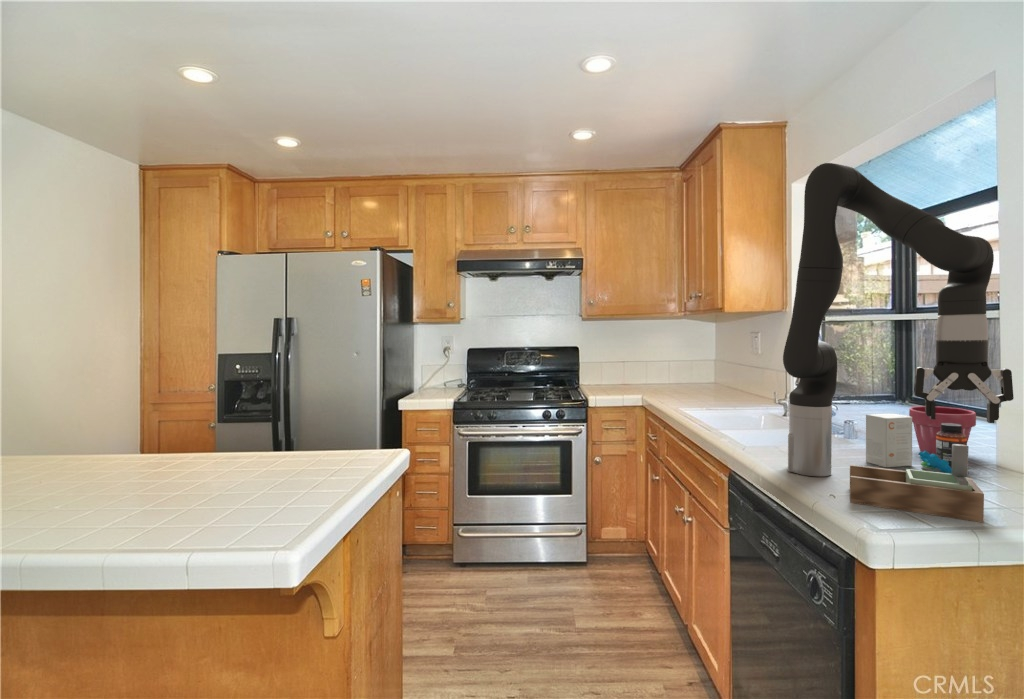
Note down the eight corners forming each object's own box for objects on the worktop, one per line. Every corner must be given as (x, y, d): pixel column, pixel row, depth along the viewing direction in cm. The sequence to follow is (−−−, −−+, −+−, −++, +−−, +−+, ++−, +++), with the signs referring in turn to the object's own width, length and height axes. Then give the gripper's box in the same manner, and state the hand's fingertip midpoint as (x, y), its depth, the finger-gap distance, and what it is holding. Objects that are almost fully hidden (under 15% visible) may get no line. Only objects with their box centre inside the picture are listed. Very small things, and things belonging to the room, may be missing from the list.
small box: (890, 459, 135) (891, 412, 134) (912, 466, 128) (913, 416, 128) (864, 461, 133) (865, 414, 133) (885, 468, 127) (886, 418, 127)
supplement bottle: (963, 466, 127) (964, 423, 127) (969, 472, 122) (970, 427, 122) (933, 463, 130) (934, 421, 130) (938, 469, 125) (938, 425, 125)
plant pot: (934, 461, 133) (935, 414, 132) (896, 448, 147) (897, 406, 146) (990, 461, 132) (991, 413, 132) (946, 448, 146) (947, 405, 146)
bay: (850, 502, 103) (850, 476, 103) (849, 488, 112) (850, 464, 112) (983, 522, 91) (984, 493, 91) (970, 504, 100) (971, 478, 100)
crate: (909, 503, 98) (910, 444, 98) (905, 491, 105) (906, 437, 105) (971, 512, 93) (972, 450, 93) (963, 499, 100) (964, 442, 100)
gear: (980, 484, 108) (940, 450, 110) (959, 503, 108) (919, 469, 110) (947, 477, 118) (912, 446, 121) (928, 493, 119) (893, 462, 121)
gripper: (916, 339, 97) (916, 420, 97) (1018, 338, 89) (1017, 427, 90) (912, 338, 103) (912, 415, 104) (1006, 337, 95) (1006, 420, 96)
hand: (960, 420), depth 97 cm, fingers open, 8 cm apart
